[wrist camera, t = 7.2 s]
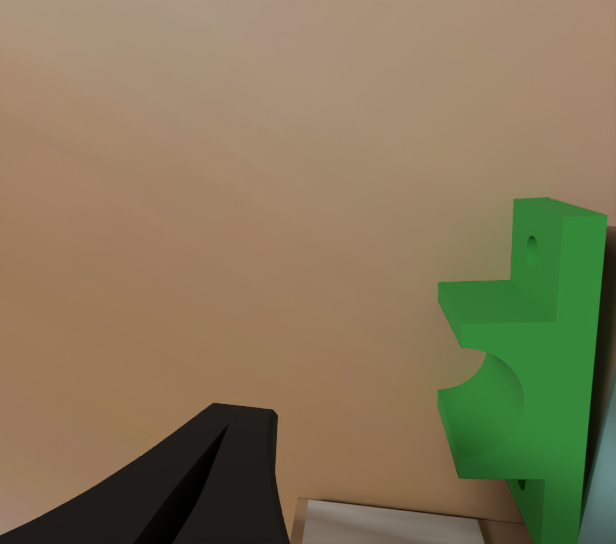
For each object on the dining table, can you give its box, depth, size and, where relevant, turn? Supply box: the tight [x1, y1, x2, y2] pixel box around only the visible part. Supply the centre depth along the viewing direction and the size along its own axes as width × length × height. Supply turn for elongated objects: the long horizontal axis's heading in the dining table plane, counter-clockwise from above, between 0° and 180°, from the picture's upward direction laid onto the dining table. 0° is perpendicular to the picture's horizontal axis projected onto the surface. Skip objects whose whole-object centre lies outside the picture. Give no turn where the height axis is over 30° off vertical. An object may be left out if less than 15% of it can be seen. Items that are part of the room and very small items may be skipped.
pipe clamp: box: [438, 197, 608, 544], centre depth 17 cm, size 11×4×5 cm, turn 4°
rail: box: [578, 226, 616, 544], centre depth 17 cm, size 16×3×3 cm, turn 177°
